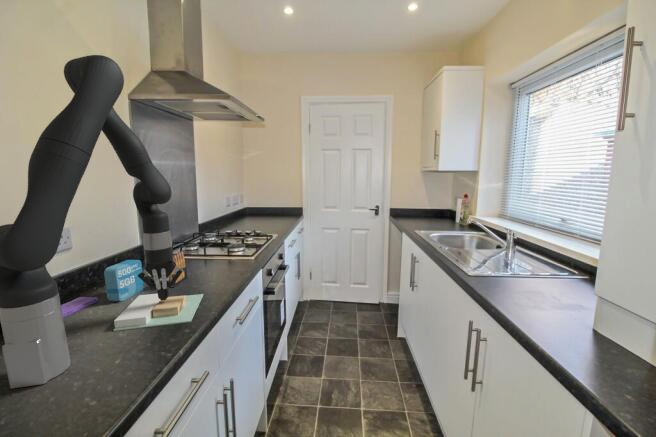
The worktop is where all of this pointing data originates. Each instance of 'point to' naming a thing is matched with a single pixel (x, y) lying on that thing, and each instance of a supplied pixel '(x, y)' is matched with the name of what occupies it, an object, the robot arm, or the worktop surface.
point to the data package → (123, 280)
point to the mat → (183, 316)
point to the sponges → (77, 305)
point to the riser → (138, 311)
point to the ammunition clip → (180, 264)
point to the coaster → (169, 306)
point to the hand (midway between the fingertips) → (164, 299)
